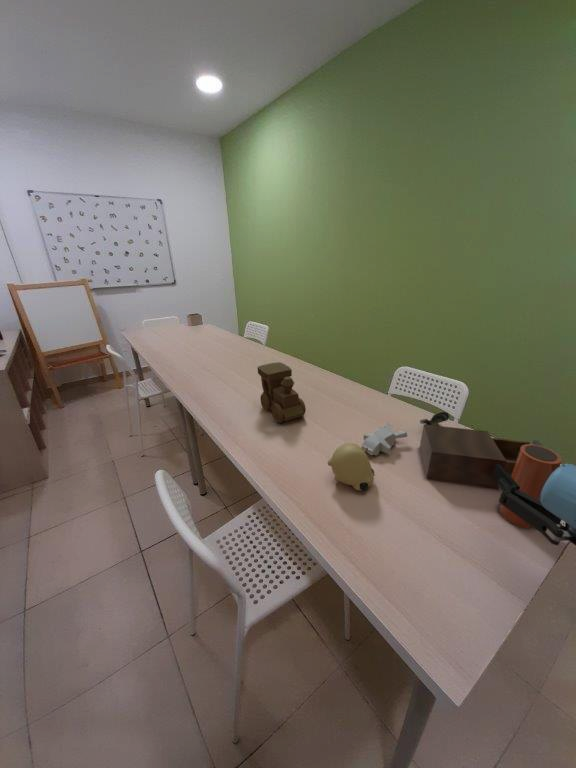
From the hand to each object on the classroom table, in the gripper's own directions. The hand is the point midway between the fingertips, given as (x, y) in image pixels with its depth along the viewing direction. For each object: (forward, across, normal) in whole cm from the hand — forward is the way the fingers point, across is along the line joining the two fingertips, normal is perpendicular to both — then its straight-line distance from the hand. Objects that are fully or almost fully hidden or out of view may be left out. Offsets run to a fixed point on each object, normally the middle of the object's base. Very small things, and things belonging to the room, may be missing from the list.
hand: (531, 470), depth 61 cm
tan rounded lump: (+11, -34, -14) cm, 38 cm away
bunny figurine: (+27, -23, -14) cm, 38 cm away
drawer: (+16, +8, -13) cm, 22 cm away
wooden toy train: (+47, -56, -14) cm, 75 cm away
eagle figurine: (+37, -4, -14) cm, 40 cm away
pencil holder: (+2, +2, -14) cm, 14 cm away
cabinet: (+18, -5, -14) cm, 23 cm away
